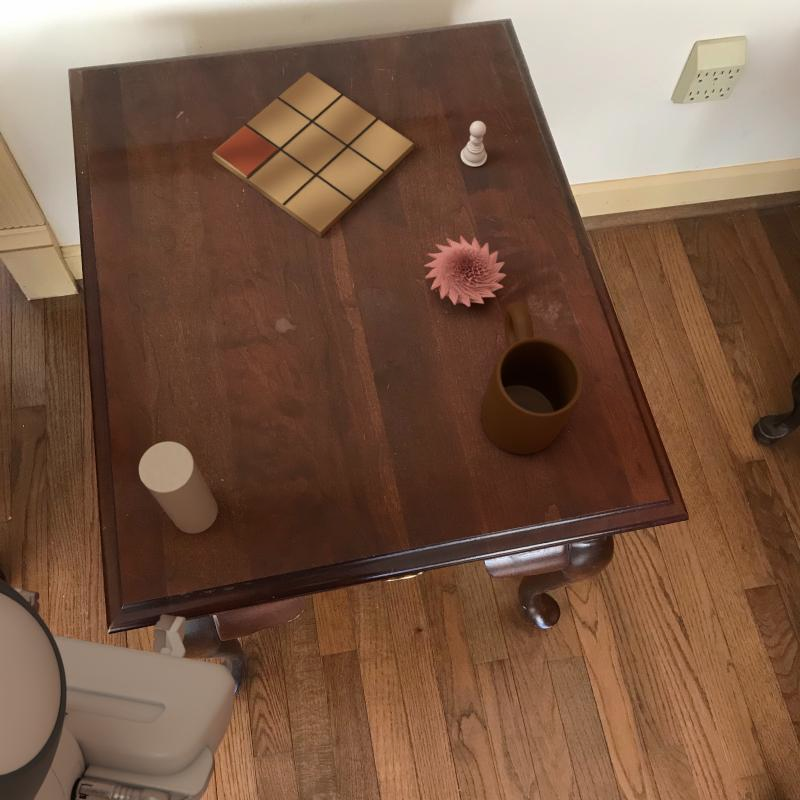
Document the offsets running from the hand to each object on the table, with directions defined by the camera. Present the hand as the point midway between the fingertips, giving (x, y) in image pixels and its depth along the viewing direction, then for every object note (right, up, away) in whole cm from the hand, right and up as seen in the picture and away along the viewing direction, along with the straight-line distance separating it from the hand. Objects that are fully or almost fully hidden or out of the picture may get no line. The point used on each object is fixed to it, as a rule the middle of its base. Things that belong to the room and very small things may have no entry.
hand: (101, 611), depth 53 cm
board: (+10, +40, +36) cm, 54 cm away
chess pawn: (+27, +39, +37) cm, 60 cm away
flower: (+25, +24, +30) cm, 46 cm away
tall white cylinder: (+1, +4, +20) cm, 20 cm away
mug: (+30, +14, +26) cm, 42 cm away
